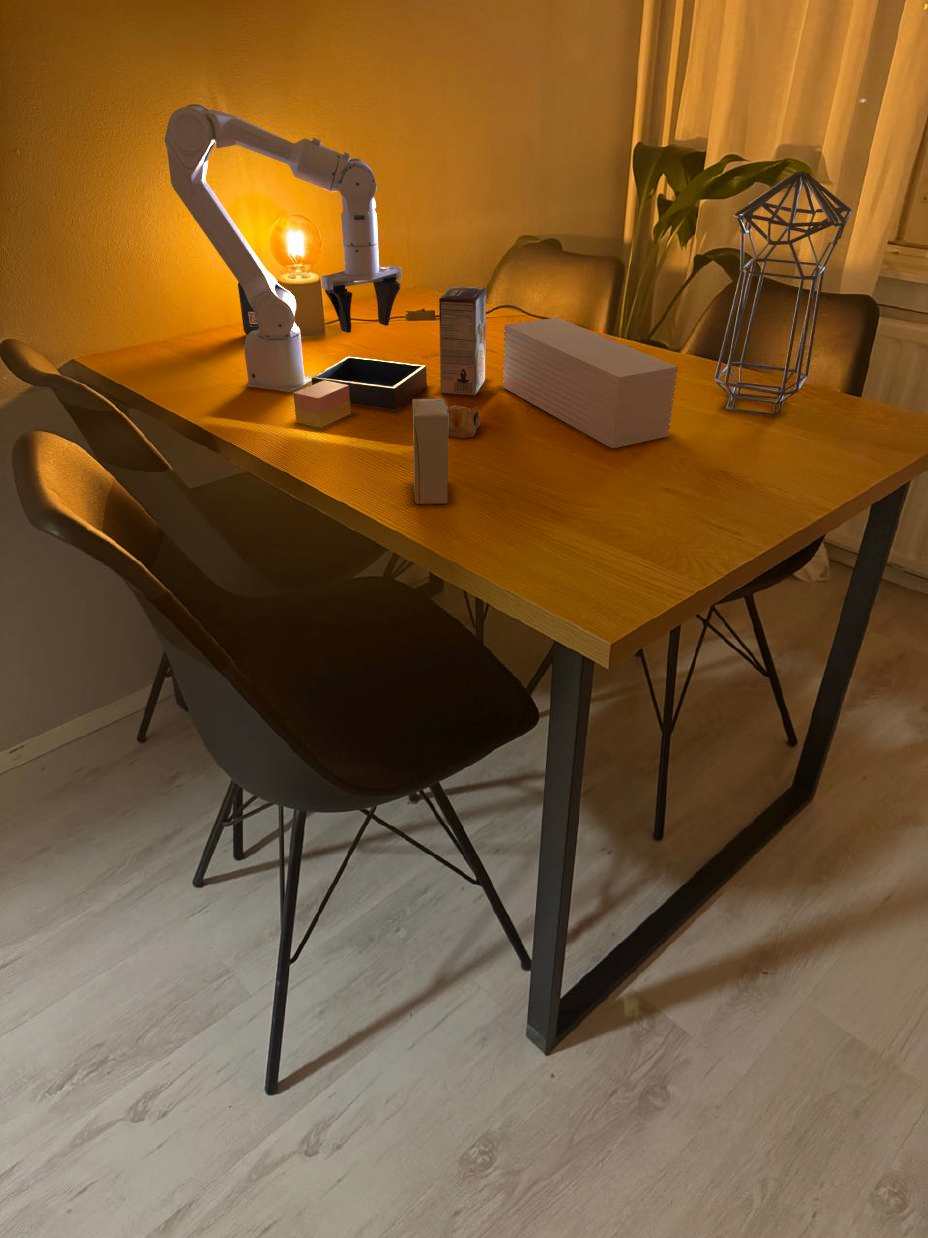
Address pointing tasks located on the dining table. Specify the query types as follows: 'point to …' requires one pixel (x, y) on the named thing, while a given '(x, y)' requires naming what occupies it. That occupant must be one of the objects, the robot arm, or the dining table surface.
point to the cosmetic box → (430, 450)
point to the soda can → (247, 313)
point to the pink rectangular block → (322, 403)
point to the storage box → (376, 381)
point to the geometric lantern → (748, 216)
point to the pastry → (463, 421)
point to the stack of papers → (589, 381)
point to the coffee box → (462, 340)
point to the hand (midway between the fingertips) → (365, 327)
